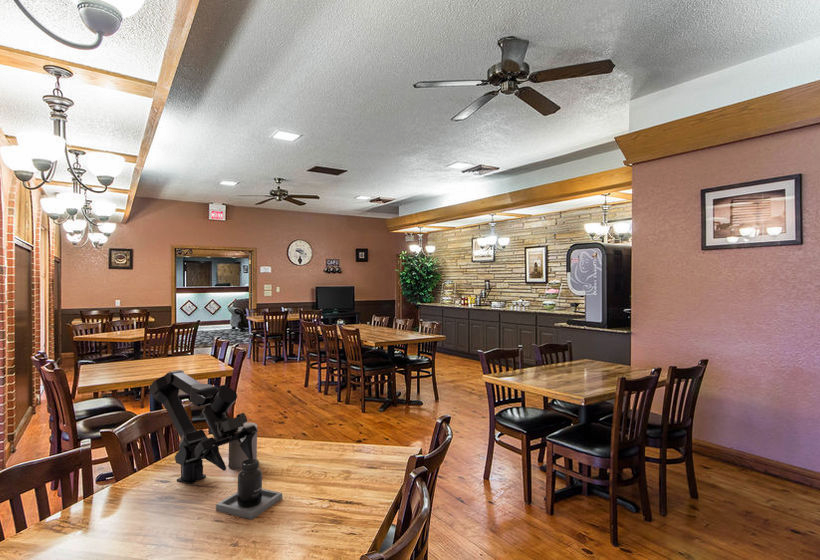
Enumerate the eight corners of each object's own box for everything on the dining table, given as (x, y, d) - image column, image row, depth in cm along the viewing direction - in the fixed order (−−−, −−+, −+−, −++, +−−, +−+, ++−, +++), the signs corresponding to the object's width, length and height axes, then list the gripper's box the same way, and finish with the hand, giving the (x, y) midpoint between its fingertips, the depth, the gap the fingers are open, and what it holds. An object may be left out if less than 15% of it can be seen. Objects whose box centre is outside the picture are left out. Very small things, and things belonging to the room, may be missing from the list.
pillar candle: (222, 467, 158) (222, 424, 158) (242, 457, 167) (242, 417, 167) (243, 472, 155) (244, 428, 155) (262, 461, 164) (263, 420, 164)
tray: (215, 510, 128) (216, 504, 128) (248, 491, 140) (248, 485, 140) (251, 519, 123) (251, 513, 123) (282, 498, 135) (282, 493, 135)
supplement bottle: (260, 507, 129) (260, 465, 129) (235, 509, 128) (235, 467, 128) (263, 496, 136) (263, 456, 136) (239, 498, 135) (240, 458, 135)
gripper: (200, 413, 130) (222, 460, 124) (254, 399, 146) (276, 440, 140) (185, 435, 135) (205, 481, 128) (239, 419, 150) (259, 460, 144)
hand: (238, 464), depth 135 cm, fingers open, 9 cm apart
